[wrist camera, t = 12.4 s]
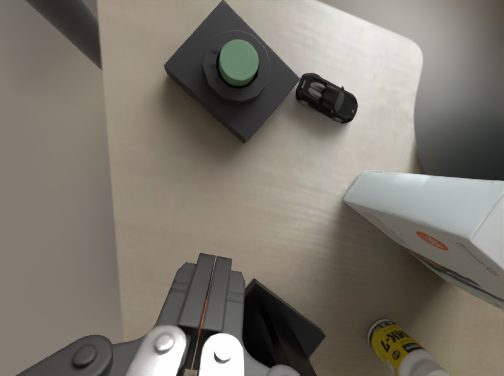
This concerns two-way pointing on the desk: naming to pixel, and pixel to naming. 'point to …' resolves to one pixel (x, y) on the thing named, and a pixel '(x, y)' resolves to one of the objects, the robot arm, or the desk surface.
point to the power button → (238, 62)
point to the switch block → (216, 88)
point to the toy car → (326, 98)
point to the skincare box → (441, 225)
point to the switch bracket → (277, 331)
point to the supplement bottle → (402, 351)
